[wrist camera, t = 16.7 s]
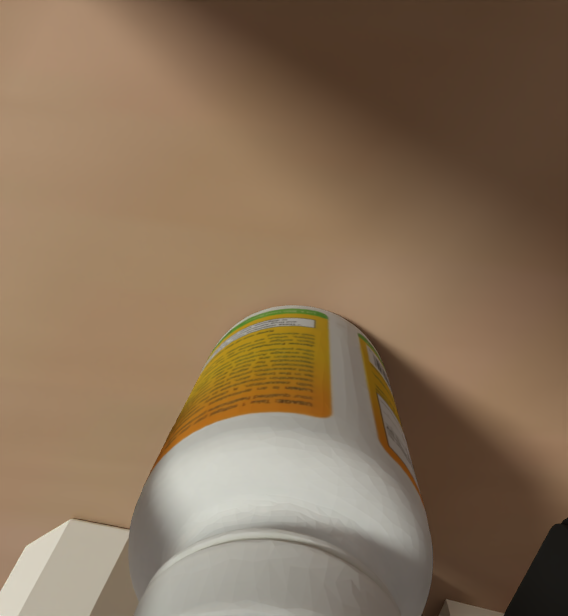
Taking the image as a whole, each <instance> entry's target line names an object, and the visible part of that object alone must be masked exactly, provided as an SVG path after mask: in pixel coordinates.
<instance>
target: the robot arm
mask: <svg viewBox="0 0 568 616" xmlns="http://www.w3.org/2000/svg"><path fill="white" fill-rule="evenodd" d="M503 616H568V518H567V519H565V520H563V522H562V523H561V524H555V525H554V526H553V527H552V528H551V529H550V531H549V533H548V535H547V536H546V538H545V540H544V542H543V544H542V546H541V547H540V549H539V551H538V553H537V555H536V557H535V559H534V560H533V562H532V564H531V566H530V568H529V570H528V571H527V573H526V575H525V577H524V579H523V581H522V582H521V584H520V586H519V588H518V590H517V592H516V593H515V595H514V597H513V599H512V601H511V603H510V604H509V606H508V608H507V610H506V612H505V614H504V615H503Z"/></svg>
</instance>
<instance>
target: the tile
mask: <svg viewBox="0 0 568 616" xmlns="http://www.w3.org/2000/svg"><path fill="white" fill-rule="evenodd" d="M503 615H504V613H500V612H496V611H492V610H488V609H484V608H480V607H476V606H472V605H468V604H464V603H460V602H456V601H452V600H448V599H446V600H445V602H444V605H443V607H442V609H441V611H440V614H439V616H503Z"/></svg>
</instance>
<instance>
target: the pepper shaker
mask: <svg viewBox="0 0 568 616" xmlns="http://www.w3.org/2000/svg"><path fill="white" fill-rule="evenodd" d="M129 532H130V529H125V528H120V527H115V526H109V525H104V524H99V523H94V522H89V521H84V520H78V519H70V520H68V521H67V522H65V523H63V524H62V525H60V526H58V527H57V528H55V529H53V530H52V531H50V532H49V533H47V534H45V535H44V536H42V537H40V538H39V539H37V540H35V541H34V542H32V543H30V544H29V545H27V546H26V547H25V549H24V551H23V552H22V554H21V556H20V558H19V560H18V561H17V563H16V565H15V567H14V568H13V570H12V572H11V574H10V576H9V577H8V579H7V581H6V583H5V584H4V586H3V588H2V590H1V591H0V616H133V615H134V612H135V610H136V608H137V606H138V603H139V601H138V599H137V596H136V593H135V591H134V588H133V584H132V580H131V577H130V570H129V561H128V546H129Z"/></svg>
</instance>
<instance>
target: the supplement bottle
mask: <svg viewBox="0 0 568 616" xmlns="http://www.w3.org/2000/svg"><path fill="white" fill-rule="evenodd" d="M128 561H129V570H130V577H131V580H132V584H133V588H134V591H135V593H136V596H137V599H138V601H139V603H138V606H137V608H136V610H135V612H134V615H133V616H421V614H422V612H423V610H424V607H425V604H426V601H427V598H428V594H429V590H430V586H431V581H432V572H433V547H432V541H431V534H430V530H429V525H428V520H427V515H426V510H425V507H424V504H423V500H422V497H421V494H420V490H419V486H418V483H417V479H416V476H415V473H414V469H413V465H412V462H411V458H410V454H409V451H408V447H407V442H406V439H405V436H404V433H403V430H402V426H401V422H400V419H399V415H398V412H397V408H396V404H395V401H394V397H393V394H392V390H391V386H390V382H389V379H388V376H387V373H386V370H385V368H384V365H383V363H382V360H381V358H380V356H379V354H378V352H377V351H376V349H375V347H374V346H373V345H372V343H371V342H370V341H369V339H368V338H367V337H366V336H365V335H364V334H363V333H362V332H361V331H360V330H359V329H358V328H357V327H356V326H354V325H353V324H352V323H350V322H349V321H347V320H346V319H344V318H342V317H340V316H339V315H336V314H334V313H332V312H329V311H326V310H323V309H319V308H315V307H309V306H297V305H287V306H278V307H272V308H268V309H265V310H262V311H259V312H257V313H254V314H252V315H250V316H248V317H246V318H244V319H243V320H241V321H240V322H239V323H237V324H236V325H235V326H233V327H232V328H231V329H230V330H229V331H228V332H227V333H226V334H225V335H224V336H223V337H222V339H221V340H220V341H219V342H218V344H217V345H216V347H215V348H214V350H213V351H212V353H211V355H210V356H209V358H208V360H207V362H206V364H205V366H204V367H203V370H202V372H201V374H200V376H199V378H198V380H197V382H196V384H195V386H194V388H193V390H192V392H191V394H190V396H189V398H188V400H187V402H186V403H185V405H184V407H183V409H182V411H181V413H180V415H179V417H178V418H177V420H176V423H175V425H174V426H173V428H172V430H171V432H170V433H169V436H168V437H167V440H166V442H165V444H164V446H163V448H162V450H161V452H160V454H159V456H158V458H157V460H156V462H155V464H154V466H153V468H152V470H151V472H150V474H149V476H148V478H147V480H146V482H145V484H144V487H143V489H142V492H141V495H140V497H139V499H138V502H137V504H136V507H135V510H134V513H133V517H132V520H131V525H130V532H129V546H128Z"/></svg>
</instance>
